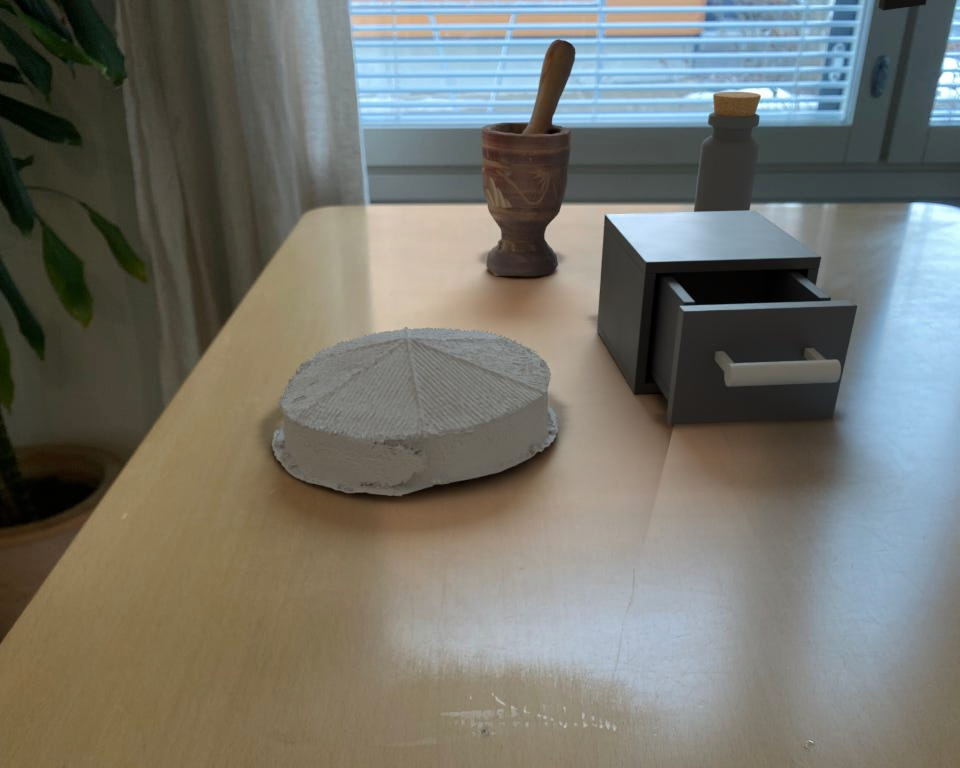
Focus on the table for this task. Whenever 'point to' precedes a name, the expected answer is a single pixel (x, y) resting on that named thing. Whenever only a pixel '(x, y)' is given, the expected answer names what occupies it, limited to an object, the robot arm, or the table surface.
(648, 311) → the cabinet
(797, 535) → the table surface
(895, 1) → the robot arm
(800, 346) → the drawer
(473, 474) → the grey round squat piece
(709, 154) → the bottle
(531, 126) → the mortar and pestle
